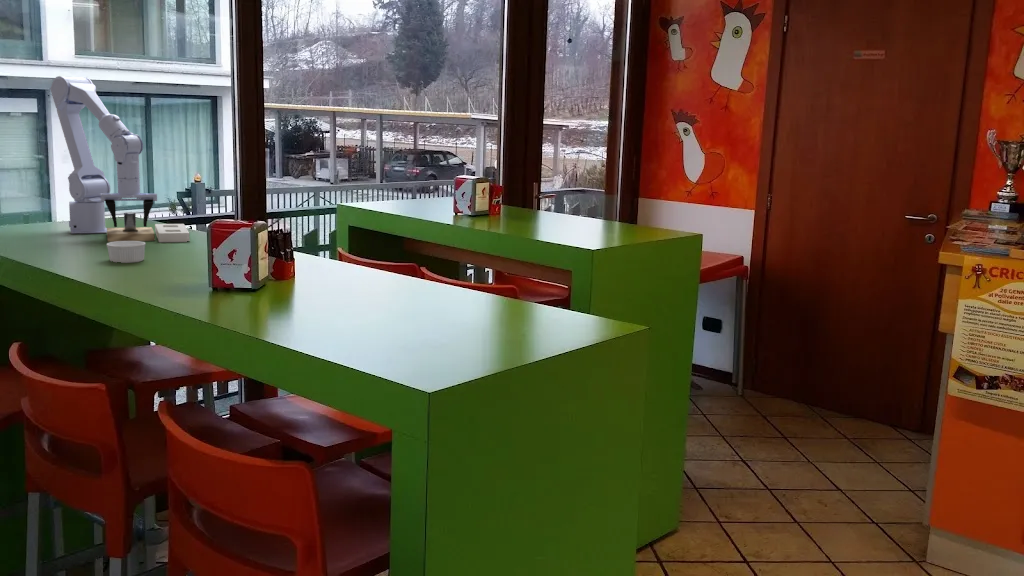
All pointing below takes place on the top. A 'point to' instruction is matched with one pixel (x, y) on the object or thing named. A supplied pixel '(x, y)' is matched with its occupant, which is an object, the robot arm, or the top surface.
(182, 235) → the tool rack
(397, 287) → the top surface
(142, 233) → the socket block
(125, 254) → the ramekin
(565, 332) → the top surface
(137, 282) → the top surface
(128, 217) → the steel peg
